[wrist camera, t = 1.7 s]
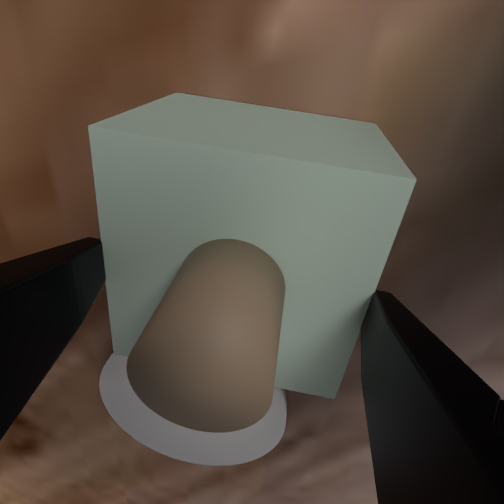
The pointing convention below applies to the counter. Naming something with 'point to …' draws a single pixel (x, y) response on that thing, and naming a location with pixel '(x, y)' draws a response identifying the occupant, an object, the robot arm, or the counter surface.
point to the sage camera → (240, 250)
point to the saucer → (184, 439)
